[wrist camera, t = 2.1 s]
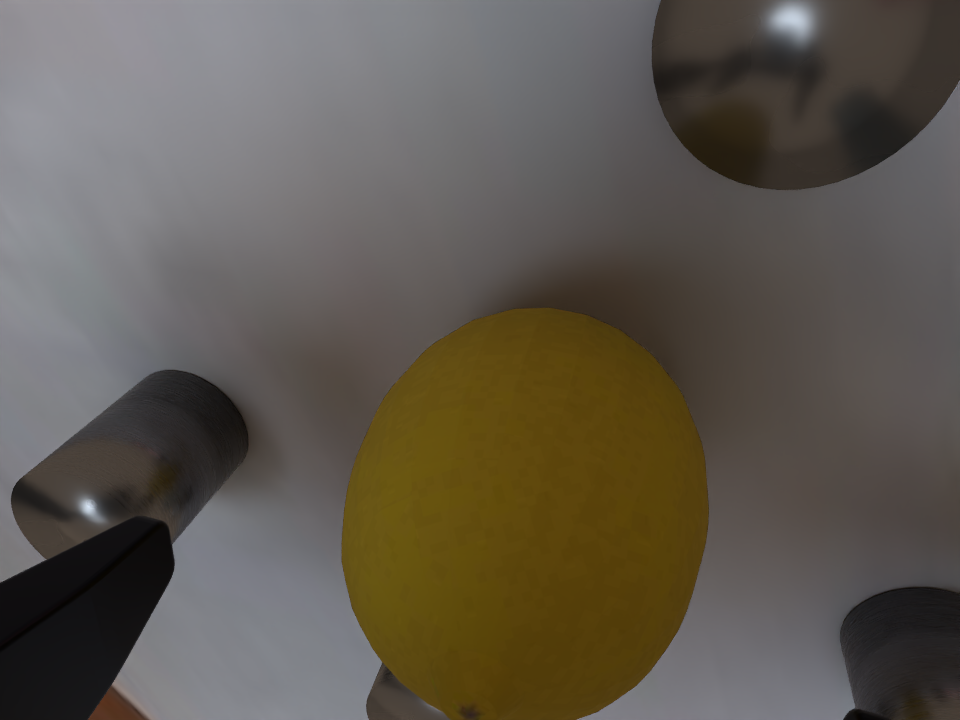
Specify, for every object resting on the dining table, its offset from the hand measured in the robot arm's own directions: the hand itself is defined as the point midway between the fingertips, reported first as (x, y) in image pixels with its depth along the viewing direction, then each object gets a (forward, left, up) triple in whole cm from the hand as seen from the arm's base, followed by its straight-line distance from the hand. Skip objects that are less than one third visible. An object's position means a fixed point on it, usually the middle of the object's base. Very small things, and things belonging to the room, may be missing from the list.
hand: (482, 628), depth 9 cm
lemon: (0, 0, -7) cm, 7 cm away
